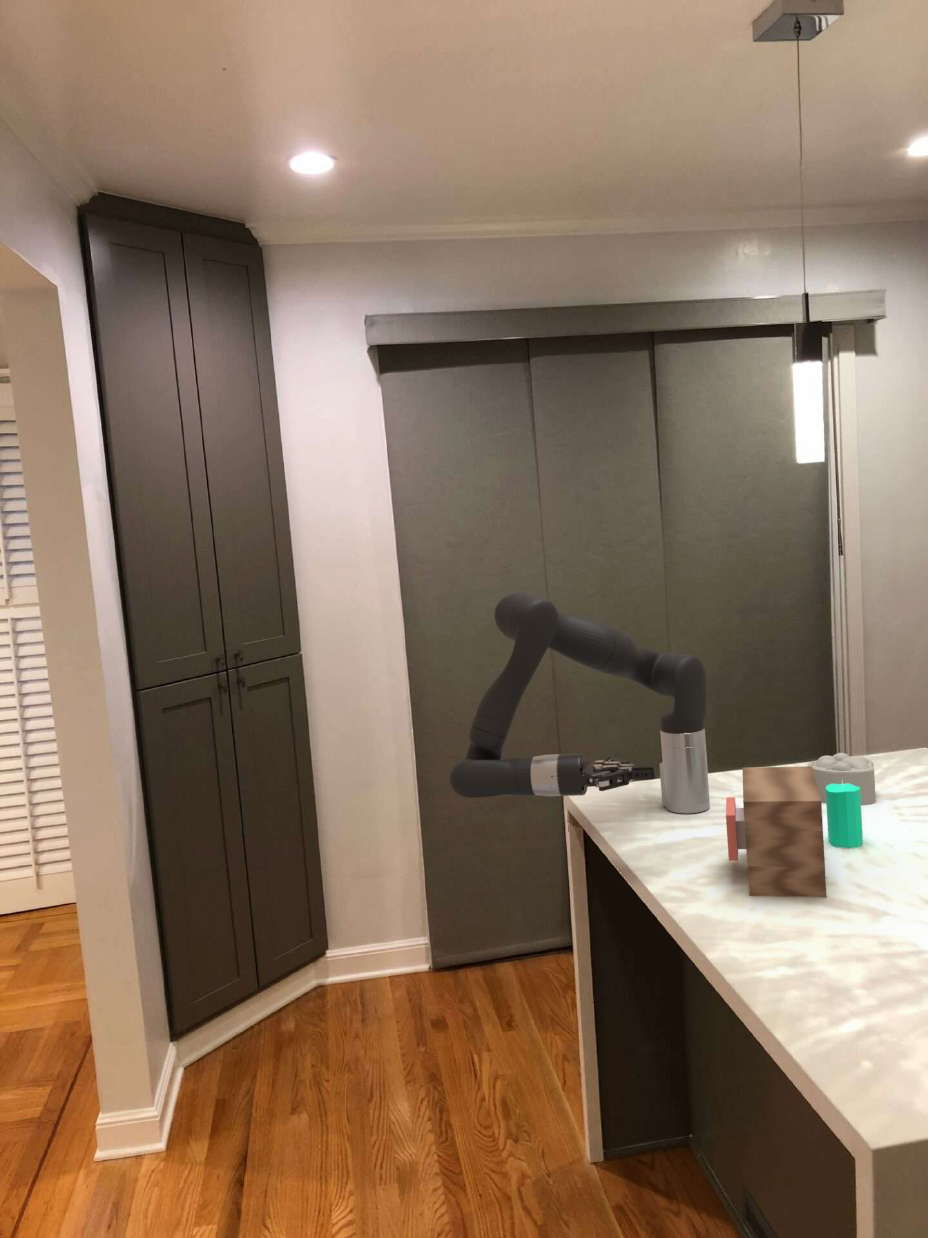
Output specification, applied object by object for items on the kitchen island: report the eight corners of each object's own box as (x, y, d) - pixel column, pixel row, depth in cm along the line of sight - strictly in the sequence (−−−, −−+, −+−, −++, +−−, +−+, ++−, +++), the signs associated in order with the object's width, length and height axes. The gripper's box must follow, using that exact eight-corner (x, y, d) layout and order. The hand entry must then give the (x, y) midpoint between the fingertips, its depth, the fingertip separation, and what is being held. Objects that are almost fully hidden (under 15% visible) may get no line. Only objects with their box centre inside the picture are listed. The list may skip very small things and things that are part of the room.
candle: (866, 847, 175) (862, 783, 173) (831, 848, 176) (827, 784, 174) (859, 836, 180) (856, 774, 179) (825, 837, 182) (822, 775, 180)
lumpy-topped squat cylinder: (876, 806, 196) (874, 764, 195) (808, 804, 201) (806, 764, 200) (874, 790, 206) (872, 751, 205) (809, 789, 210) (807, 751, 210)
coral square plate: (728, 860, 164) (725, 815, 163) (729, 840, 174) (726, 797, 173) (787, 861, 161) (784, 815, 161) (784, 840, 171) (781, 796, 170)
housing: (749, 895, 159) (743, 801, 157) (747, 851, 178) (742, 767, 176) (826, 897, 156) (821, 801, 154) (816, 852, 175) (811, 766, 173)
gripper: (550, 766, 169) (650, 762, 164) (563, 745, 181) (656, 741, 177) (554, 807, 170) (654, 804, 165) (567, 783, 182) (660, 780, 178)
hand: (655, 772), depth 171 cm, fingers closed
